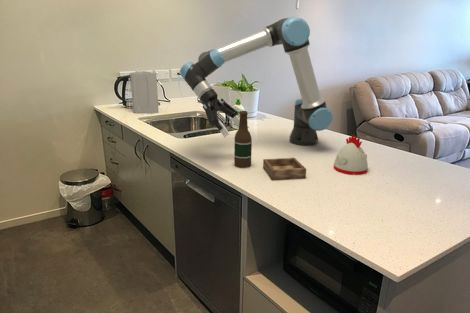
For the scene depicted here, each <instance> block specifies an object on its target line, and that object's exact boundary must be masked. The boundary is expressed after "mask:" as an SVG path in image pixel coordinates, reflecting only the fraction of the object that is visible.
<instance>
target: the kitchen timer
mask: <svg viewBox="0 0 470 313" xmlns="http://www.w3.org/2000/svg"><path fill="white" fill-rule="evenodd" d="M360 140H361V137H357V135H356V136H355V135H353V134H352V135H351V136H349V137H348V138H345V142H346V144H345V145H344V146H343V147H342V148H341V149H339V151H338V153H337V154H336V157H335V159H334V162H333V169H334V170H335V171H336V172H338V173H340V174H344V175H348V176H361V175H365V174H367V172H368V168H369V167H368V165H369V164H368V154H367V153H366V152H365V151H364V149H363V147H362V146H361V145H362V143H363V141H360Z"/></svg>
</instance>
